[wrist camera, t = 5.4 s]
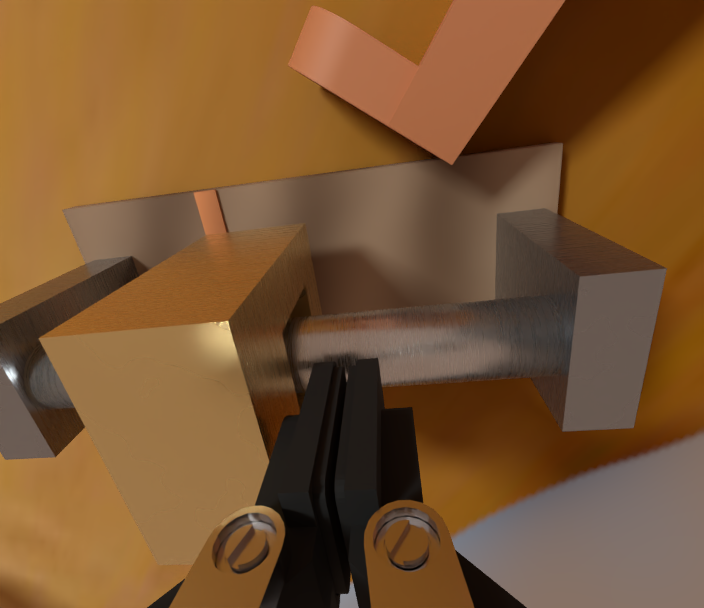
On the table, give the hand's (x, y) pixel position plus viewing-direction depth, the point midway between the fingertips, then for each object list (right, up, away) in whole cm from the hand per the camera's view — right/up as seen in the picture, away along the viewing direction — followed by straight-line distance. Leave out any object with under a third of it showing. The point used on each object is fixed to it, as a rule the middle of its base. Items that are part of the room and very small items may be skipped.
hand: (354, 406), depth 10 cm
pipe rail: (-2, +4, +9) cm, 10 cm away
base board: (-2, +4, +9) cm, 10 cm away
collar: (-3, +2, +6) cm, 7 cm away
